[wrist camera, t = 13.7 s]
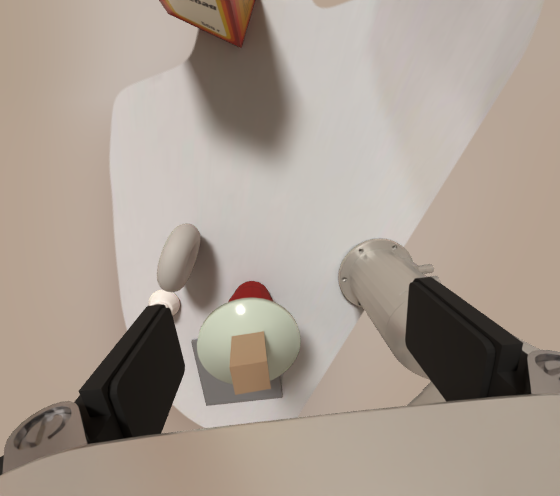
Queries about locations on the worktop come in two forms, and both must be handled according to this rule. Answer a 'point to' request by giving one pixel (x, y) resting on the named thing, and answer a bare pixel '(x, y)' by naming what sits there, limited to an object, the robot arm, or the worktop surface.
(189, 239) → the donut
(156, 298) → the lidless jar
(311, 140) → the worktop surface
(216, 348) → the lid
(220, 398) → the mat
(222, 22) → the baking soda box
